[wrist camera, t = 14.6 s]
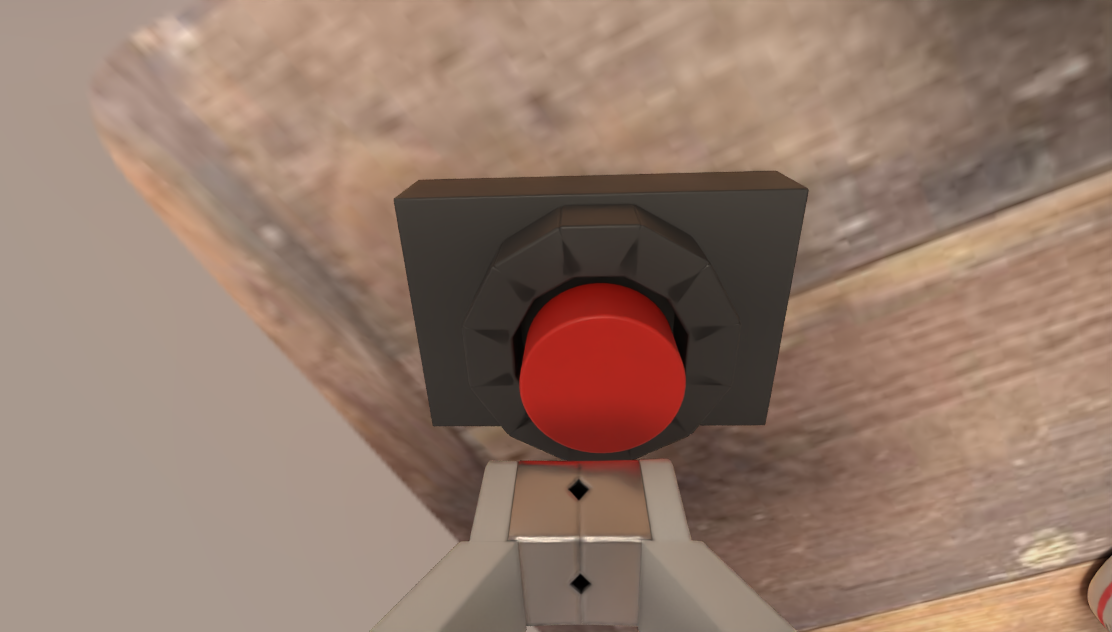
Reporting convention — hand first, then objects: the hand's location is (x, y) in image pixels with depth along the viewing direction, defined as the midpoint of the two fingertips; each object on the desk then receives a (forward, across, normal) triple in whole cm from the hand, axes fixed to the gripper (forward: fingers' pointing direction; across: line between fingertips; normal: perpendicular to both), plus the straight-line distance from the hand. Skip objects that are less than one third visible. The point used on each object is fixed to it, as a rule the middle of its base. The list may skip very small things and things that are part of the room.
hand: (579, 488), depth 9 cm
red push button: (+8, -1, 0) cm, 8 cm away
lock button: (+4, -1, 0) cm, 5 cm away
